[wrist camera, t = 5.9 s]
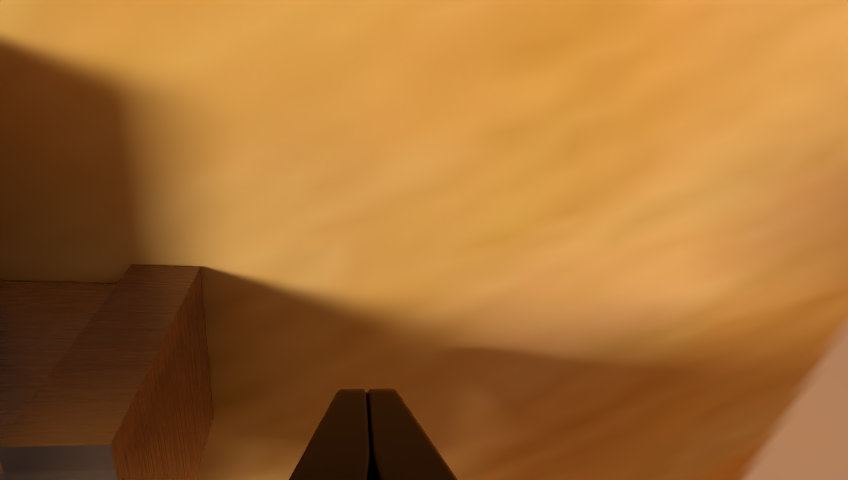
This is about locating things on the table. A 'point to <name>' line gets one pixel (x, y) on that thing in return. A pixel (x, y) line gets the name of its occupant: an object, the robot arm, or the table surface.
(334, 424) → the robot arm
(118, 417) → the dark grey block
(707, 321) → the table surface
